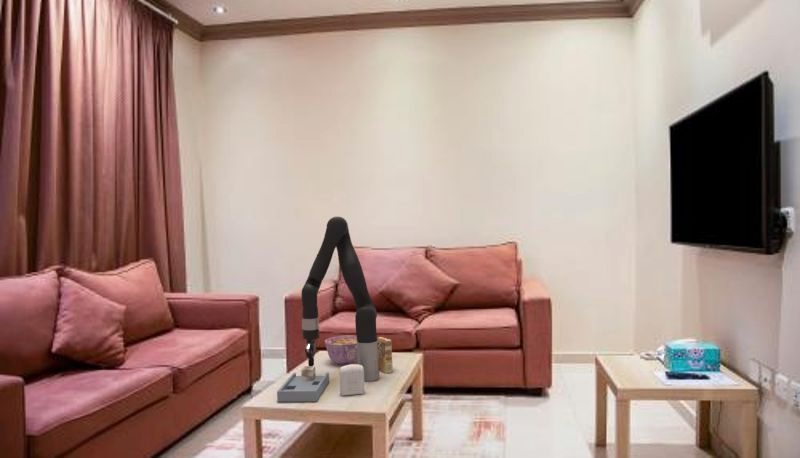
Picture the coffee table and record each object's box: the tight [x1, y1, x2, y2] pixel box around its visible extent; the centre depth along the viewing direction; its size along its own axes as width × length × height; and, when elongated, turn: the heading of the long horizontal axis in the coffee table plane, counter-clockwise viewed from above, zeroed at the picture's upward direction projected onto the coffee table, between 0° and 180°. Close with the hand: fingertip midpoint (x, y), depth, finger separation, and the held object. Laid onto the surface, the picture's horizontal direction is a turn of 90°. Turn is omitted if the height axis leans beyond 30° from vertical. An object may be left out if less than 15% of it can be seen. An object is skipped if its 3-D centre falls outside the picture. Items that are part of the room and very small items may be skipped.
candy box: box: [377, 336, 394, 374], centre depth 276 cm, size 9×4×15 cm, turn 33°
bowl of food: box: [324, 334, 358, 366], centre depth 292 cm, size 20×20×12 cm
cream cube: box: [300, 365, 317, 381], centre depth 256 cm, size 5×5×5 cm
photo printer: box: [339, 363, 365, 397], centre depth 244 cm, size 10×4×12 cm, turn 103°
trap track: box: [276, 372, 330, 403], centre depth 249 cm, size 16×26×4 cm, turn 176°
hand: (311, 365), depth 264 cm, fingers closed
